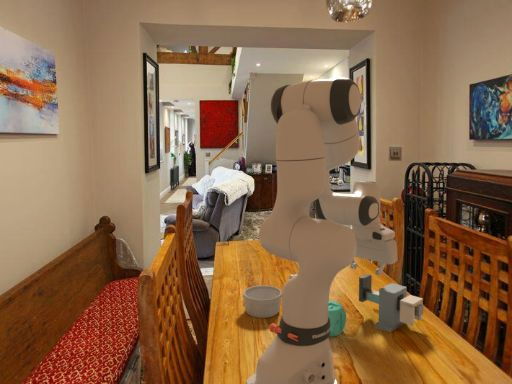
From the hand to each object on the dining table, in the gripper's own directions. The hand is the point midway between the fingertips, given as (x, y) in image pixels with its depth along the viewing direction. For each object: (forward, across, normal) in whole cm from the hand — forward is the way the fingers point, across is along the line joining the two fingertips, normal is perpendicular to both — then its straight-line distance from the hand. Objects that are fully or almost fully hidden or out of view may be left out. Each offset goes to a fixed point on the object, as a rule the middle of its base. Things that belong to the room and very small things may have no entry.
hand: (365, 271), depth 125 cm
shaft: (+10, +9, -1) cm, 13 cm away
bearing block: (+14, +10, -1) cm, 18 cm away
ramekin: (+14, -25, -24) cm, 37 cm away
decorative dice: (+14, -1, -19) cm, 24 cm away
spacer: (+12, +16, -1) cm, 20 cm away
